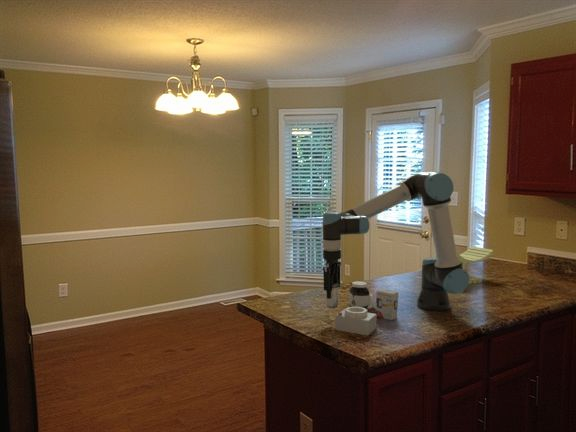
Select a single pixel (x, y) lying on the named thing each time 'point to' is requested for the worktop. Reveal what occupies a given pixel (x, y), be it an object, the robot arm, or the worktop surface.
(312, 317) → the worktop surface
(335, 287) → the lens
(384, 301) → the ink box
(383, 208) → the robot arm
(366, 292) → the spread jar
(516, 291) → the worktop surface
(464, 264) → the slatted curved stool
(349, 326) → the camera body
